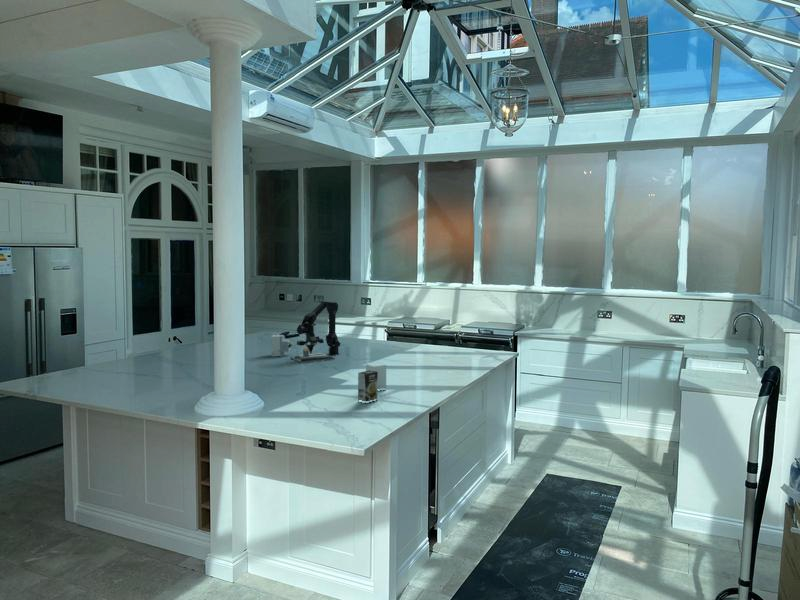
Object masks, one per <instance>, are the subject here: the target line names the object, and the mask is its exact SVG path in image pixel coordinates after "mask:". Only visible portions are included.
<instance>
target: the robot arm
mask: <svg viewBox="0 0 800 600" xmlns="http://www.w3.org/2000/svg"><path fill="white" fill-rule="evenodd" d="M325 309H326V311H327V314H328V334H327V335H325V341H326V345H327V346H328V353H327V355H328V354H329V355H330V354H331V355H330V356H334V355H333V354H338V355H340V353H339V348H340V347H341V342H340V341H339V339H338V338H339V337H338V335H337V333H336V314H337V312H338V309H339V304H338V303H337V302H336V301H335V302H334V301H325V300H322V301H321V302H320V303H319V304H318V305H317V306H316V308H314V309H313V310H312V311H311V312H308V313H307V314H305V315H304V317H303V320H302V321H301V324H298V326H297V328H296V332H297V334H298V335H303V334H305V340H303V339H302V340H297V341H296V345H297V346H301V347H302V346H304V345H305V346H306V347H307V349H309V354H313V350H314V347H315V346H316V345H317V344H324V343H325V341H324V339H323V338H322V337H321V338H320V335H318V336H316V334H315V331H314V330H315V329H314V327H315V326H316V323H315V322H316V321H317V317H318V316H320V315H321V313H322V312H323V311H324V310H325Z"/></svg>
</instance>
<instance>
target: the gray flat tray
mask: <svg viewBox="0 0 800 600" xmlns="http://www.w3.org/2000/svg"><path fill="white" fill-rule="evenodd" d="M293 357H295V358H297V357H299V356H298V355H294V356H293ZM331 357H332V355H328V356H324V357H314V358H304V359H301V361H304V360H314V359H324V358H331Z"/></svg>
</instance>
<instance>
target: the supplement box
mask: <svg viewBox="0 0 800 600" xmlns="http://www.w3.org/2000/svg"><path fill="white" fill-rule="evenodd" d="M369 370H370V371H376V372H378V383H377V389H380V388H386V389H387V365H386V364H383V363H380V362H374V363H373V362H372V363H366V364H365V371H369Z"/></svg>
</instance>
